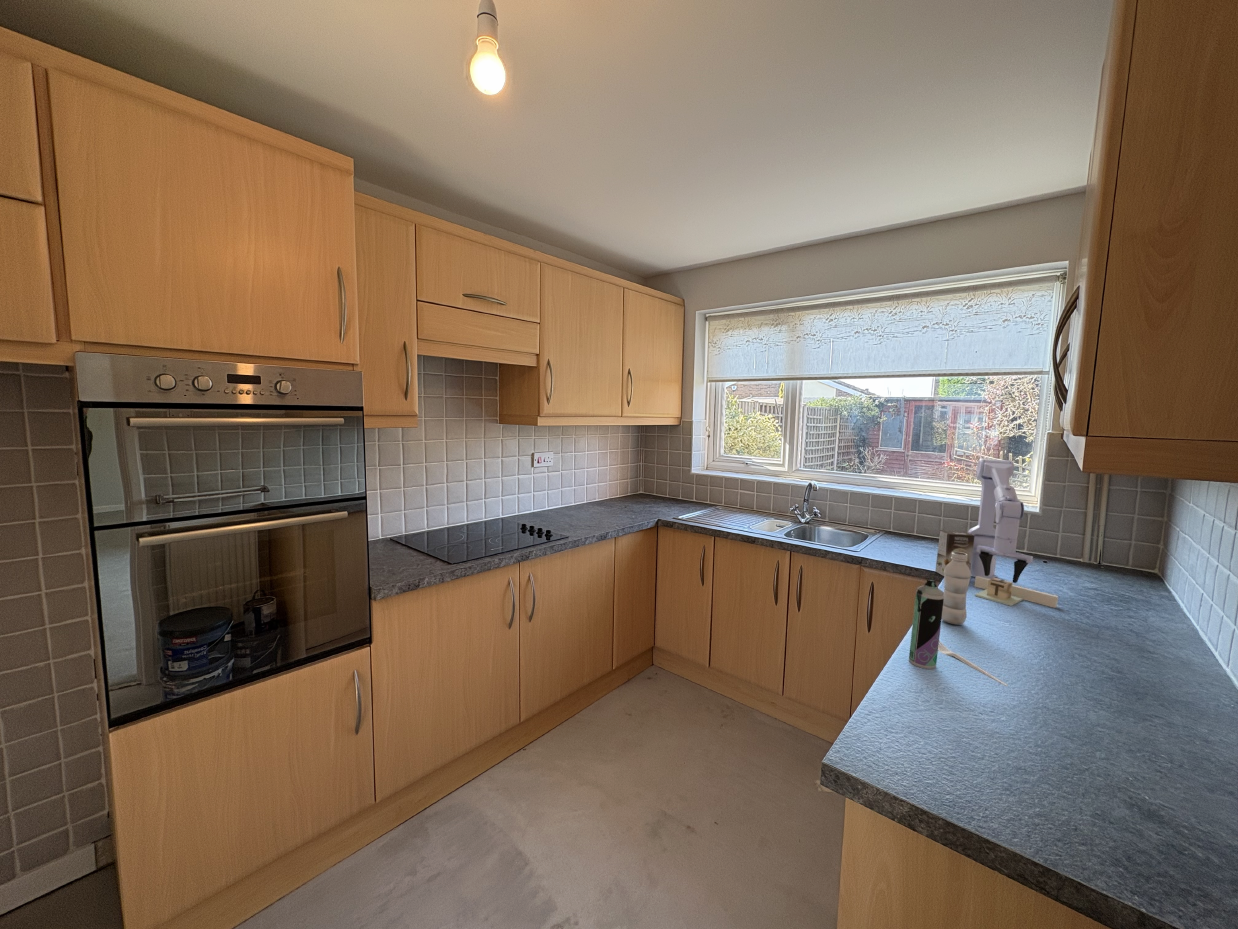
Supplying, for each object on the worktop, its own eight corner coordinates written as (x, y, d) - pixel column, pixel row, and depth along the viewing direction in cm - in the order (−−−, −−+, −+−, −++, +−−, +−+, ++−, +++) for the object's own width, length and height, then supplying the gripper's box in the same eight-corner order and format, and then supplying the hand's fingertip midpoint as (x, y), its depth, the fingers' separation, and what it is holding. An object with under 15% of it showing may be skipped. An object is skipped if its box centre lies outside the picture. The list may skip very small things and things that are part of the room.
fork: (1001, 690, 109) (1002, 682, 109) (926, 645, 128) (927, 638, 128) (1013, 689, 110) (1014, 681, 109) (937, 644, 129) (938, 637, 129)
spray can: (926, 671, 114) (936, 585, 112) (903, 660, 119) (912, 577, 117) (941, 666, 117) (950, 582, 115) (917, 656, 122) (926, 575, 119)
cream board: (976, 585, 177) (977, 576, 177) (1056, 607, 159) (1058, 596, 159) (974, 586, 176) (975, 576, 176) (1055, 607, 158) (1056, 597, 158)
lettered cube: (992, 592, 169) (994, 577, 168) (1010, 597, 165) (1012, 581, 164) (986, 595, 166) (988, 579, 165) (1004, 600, 162) (1006, 584, 161)
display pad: (986, 590, 172) (986, 588, 172) (1022, 600, 164) (1022, 598, 164) (974, 595, 166) (974, 594, 166) (1011, 606, 158) (1011, 604, 158)
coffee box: (943, 576, 186) (948, 533, 184) (934, 571, 192) (939, 529, 191) (970, 578, 185) (975, 535, 183) (960, 572, 191) (964, 531, 190)
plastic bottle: (967, 623, 143) (975, 554, 141) (963, 629, 138) (971, 558, 136) (941, 616, 148) (948, 549, 146) (935, 622, 143) (943, 553, 141)
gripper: (975, 534, 167) (970, 574, 168) (1029, 544, 155) (1023, 587, 157) (983, 531, 171) (978, 570, 172) (1037, 542, 159) (1031, 583, 161)
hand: (1000, 578), depth 165 cm, fingers open, 7 cm apart
